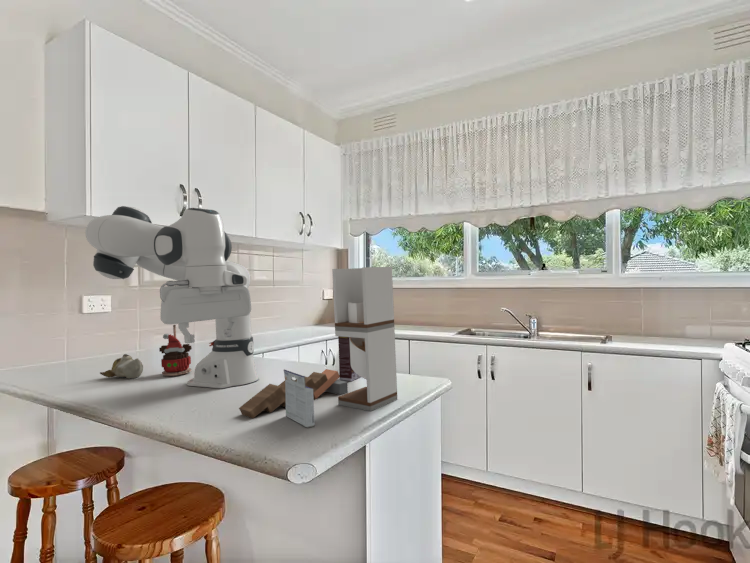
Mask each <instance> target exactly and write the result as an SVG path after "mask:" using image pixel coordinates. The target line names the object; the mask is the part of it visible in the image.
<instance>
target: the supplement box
mask: <svg viewBox="0 0 750 563" xmlns="http://www.w3.org/2000/svg"><path fill="white" fill-rule="evenodd" d="M337 338H338V339H337V340H338V342H337V343H338V368H339V369H338V370H339V372H338V373H339V376H340V377H339V380H340V381H345V382H353V381H355V380H358V379H360V378H362V377H361V376H359V375H358V374H356V373H355V372H354V371H353V369H352V368H351V362H350V340H349V337H342V336H337Z"/></svg>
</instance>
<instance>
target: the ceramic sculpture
mask: <svg viewBox="0 0 750 563" xmlns="http://www.w3.org/2000/svg"><path fill="white" fill-rule="evenodd" d="M143 371H144V364H143V363H142V360H140V359H139V358H135V359H133V356H131V355H129V354H127V353H125V354H122V357H119V358H116V359H115V360H114V362H113V363H112V367H111V369H108V370H106V371H101V372H99V374H100V375H101V376H103V377H106V378H114V377H117V378H119V377H126V378H127V379H130V378H134V379H136V377H137V378H139V377H141V376H142V374H143ZM130 380H131V379H130Z"/></svg>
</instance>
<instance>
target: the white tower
mask: <svg viewBox="0 0 750 563" xmlns="http://www.w3.org/2000/svg"><path fill="white" fill-rule="evenodd" d="M393 282H394V280H393V266H378V267H377V266H371V267H369V266H366V267H364V266H363V267H359V268H355V267H354V268H332V286H333V287H332V290H333V313H334V315H333V316H334V336H335V337H338V336H342V337H349V340H350V362H351V368H352V369H353V371H354V372H355V373H356V374H358V375H359V376H361V377H360V378H362V379H365V380H366V386H363V387H361V388H359V389H356V390H352V391H350V392H347V393H344V394H341V395H339V396H338V397H337V398H338V399H337V403H338V405H339V406H344V407H347V408H348V407H349V408H353V409H358V410H363V411H368V412H372V411H374V410H376V409H379V408H381V407H383V406H385V405H387V404H390V403H392V402H395V401H397V400H398V381H397V380H398V379H397V361H396V360H397V355H396V352H397V351H396V332H395V330H396V329H395V311H394V310H395V309H394V308H395V306H394V286H393V284H394V283H393Z"/></svg>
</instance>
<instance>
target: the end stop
mask: <svg viewBox="0 0 750 563" xmlns="http://www.w3.org/2000/svg"><path fill="white" fill-rule="evenodd" d="M348 388H349V387H348V381H343V380H340V379H337V380H336V381H335V382H334V383H333V384H332V385H331V386H330V387H329V388H328V389H326V390H325V391H324V393H325V392H326V393H330V394H335V395H339V396H342V395H344V394H347V393H349V391H348Z"/></svg>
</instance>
